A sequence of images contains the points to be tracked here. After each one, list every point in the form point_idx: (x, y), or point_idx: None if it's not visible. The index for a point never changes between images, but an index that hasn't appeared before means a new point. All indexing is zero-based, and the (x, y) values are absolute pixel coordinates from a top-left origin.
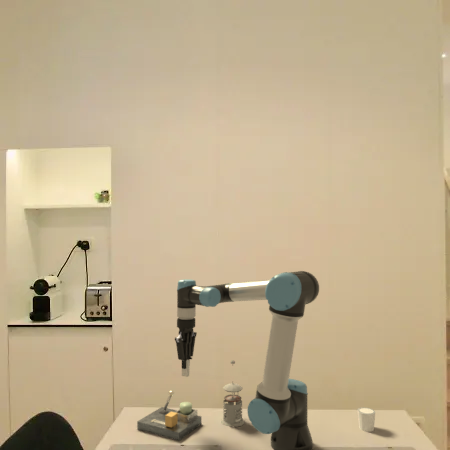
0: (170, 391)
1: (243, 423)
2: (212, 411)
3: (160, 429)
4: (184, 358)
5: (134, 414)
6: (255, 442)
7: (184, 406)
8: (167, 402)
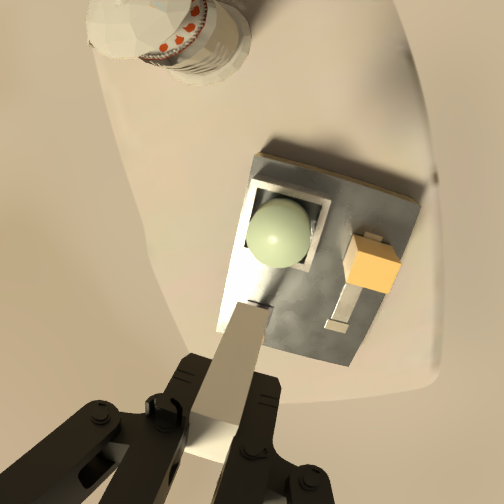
0: None
1: (210, 1)
2: (142, 147)
3: None
4: (308, 482)
5: None
6: None
7: (305, 237)
8: None
